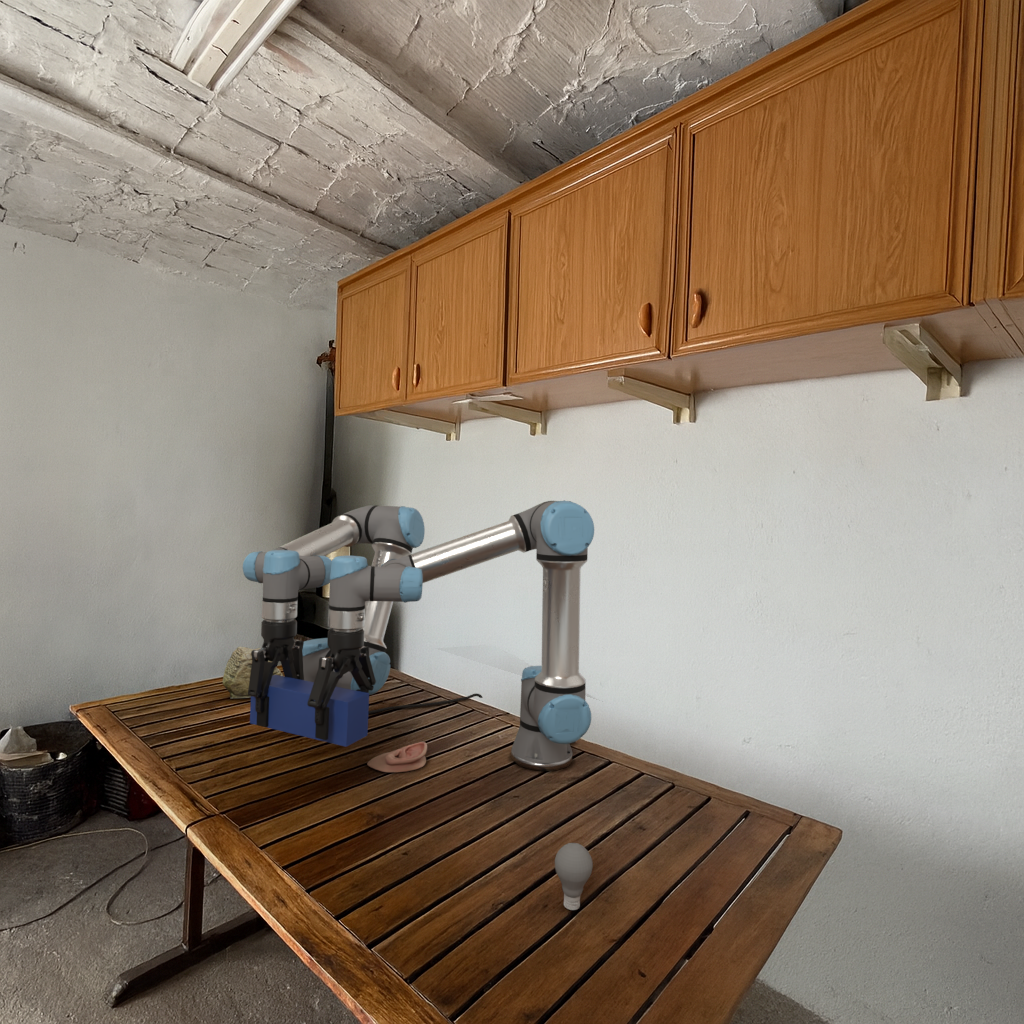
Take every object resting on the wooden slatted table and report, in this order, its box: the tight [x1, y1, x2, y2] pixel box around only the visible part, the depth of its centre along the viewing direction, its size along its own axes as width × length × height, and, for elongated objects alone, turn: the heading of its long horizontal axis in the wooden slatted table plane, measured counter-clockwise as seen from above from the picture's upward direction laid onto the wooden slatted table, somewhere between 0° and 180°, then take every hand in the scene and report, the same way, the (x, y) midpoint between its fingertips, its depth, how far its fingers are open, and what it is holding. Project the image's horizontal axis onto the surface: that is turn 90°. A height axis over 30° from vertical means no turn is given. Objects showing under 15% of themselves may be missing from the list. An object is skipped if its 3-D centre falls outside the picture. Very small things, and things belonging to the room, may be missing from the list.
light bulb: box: [554, 842, 594, 911], centre depth 100 cm, size 6×6×10 cm
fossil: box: [222, 646, 284, 699], centre depth 198 cm, size 9×18×15 cm, turn 132°
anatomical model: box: [366, 741, 428, 773], centre depth 152 cm, size 13×4×12 cm
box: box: [249, 675, 370, 748], centre depth 139 cm, size 27×7×9 cm, turn 66°
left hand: (275, 720), depth 143 cm, fingers closed on box, 7 cm apart
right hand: (342, 728), depth 135 cm, fingers open, 12 cm apart
